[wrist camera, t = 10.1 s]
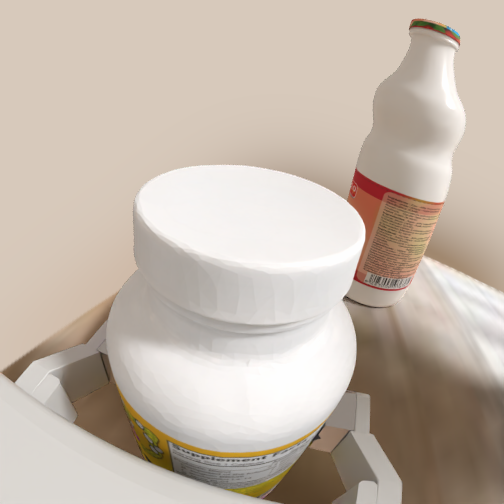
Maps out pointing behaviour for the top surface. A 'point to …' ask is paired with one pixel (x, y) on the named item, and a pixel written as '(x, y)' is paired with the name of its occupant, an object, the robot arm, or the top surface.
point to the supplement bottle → (234, 321)
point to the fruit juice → (406, 164)
